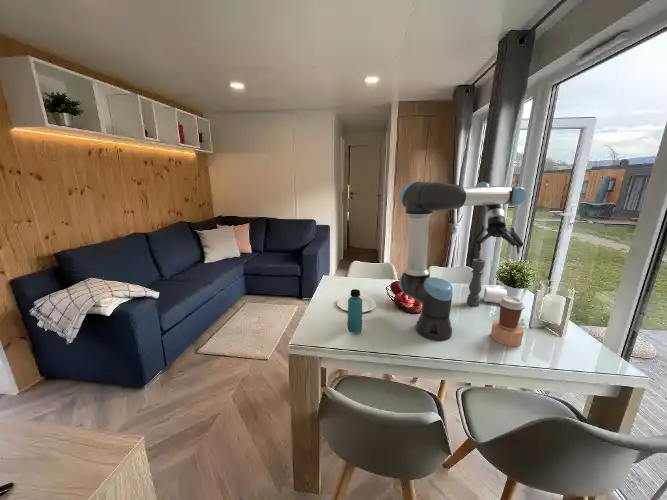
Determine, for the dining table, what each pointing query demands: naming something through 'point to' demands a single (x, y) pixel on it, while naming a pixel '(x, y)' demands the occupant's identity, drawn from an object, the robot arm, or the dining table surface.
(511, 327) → the coffee cup
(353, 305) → the beverage bottle
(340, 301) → the plate
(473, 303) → the candle holder
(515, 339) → the terracotta bowl
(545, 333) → the dining table surface
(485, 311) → the dining table surface
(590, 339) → the dining table surface
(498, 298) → the mug
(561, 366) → the dining table surface
